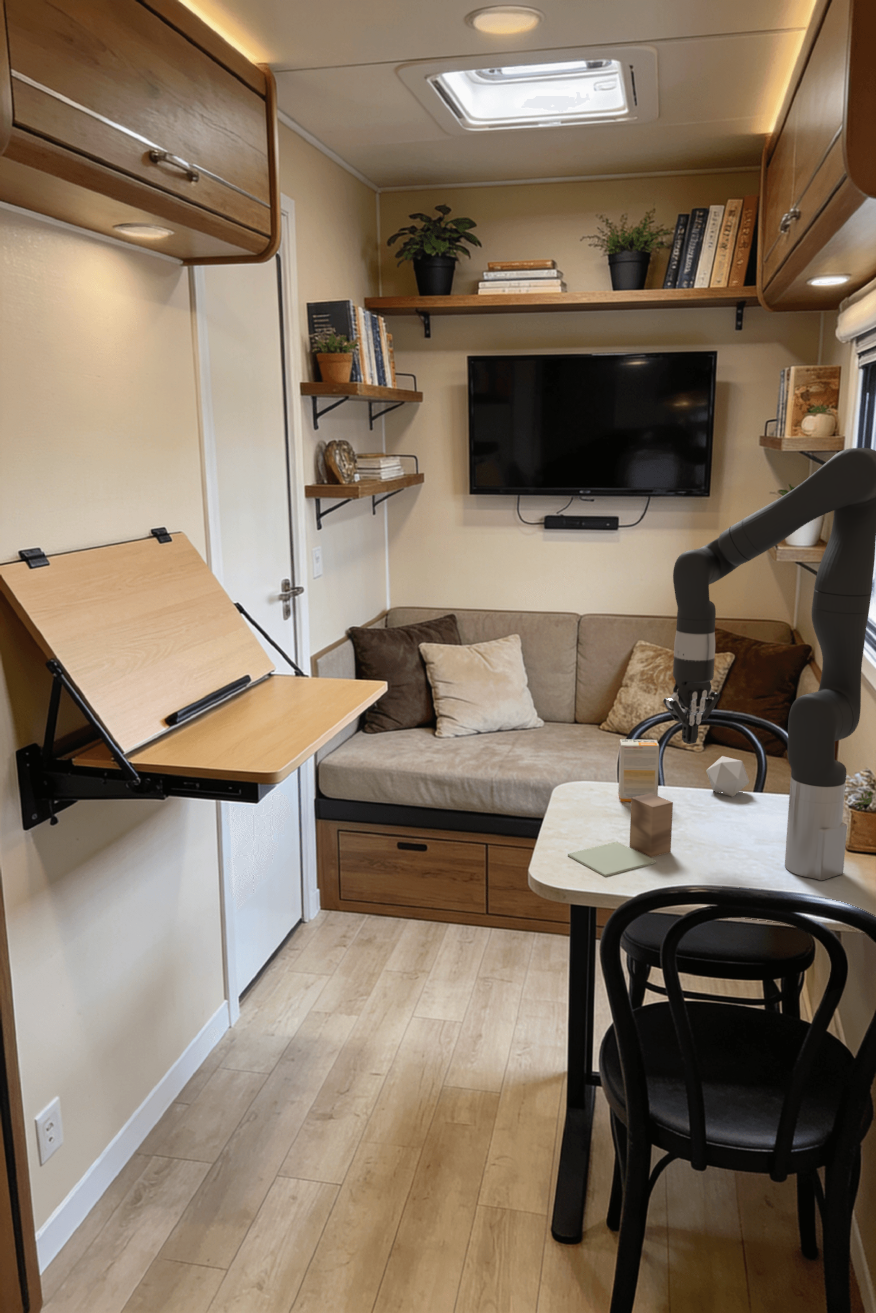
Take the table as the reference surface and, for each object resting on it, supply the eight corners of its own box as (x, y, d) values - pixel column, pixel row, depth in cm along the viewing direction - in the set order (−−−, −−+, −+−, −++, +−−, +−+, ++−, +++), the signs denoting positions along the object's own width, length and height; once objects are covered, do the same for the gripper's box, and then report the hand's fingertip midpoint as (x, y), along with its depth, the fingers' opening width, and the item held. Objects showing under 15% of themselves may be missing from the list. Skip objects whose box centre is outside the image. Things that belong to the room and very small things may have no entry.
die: (755, 796, 222) (743, 755, 226) (747, 788, 215) (736, 746, 219) (718, 805, 225) (708, 765, 229) (710, 797, 218) (700, 755, 222)
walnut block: (670, 852, 190) (672, 802, 188) (650, 857, 187) (652, 807, 185) (649, 841, 195) (651, 793, 193) (629, 846, 192) (631, 797, 190)
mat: (655, 862, 185) (655, 860, 185) (605, 876, 179) (605, 874, 179) (617, 843, 194) (617, 841, 194) (567, 855, 188) (567, 853, 188)
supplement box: (655, 795, 221) (657, 739, 218) (657, 803, 216) (660, 745, 214) (617, 794, 222) (619, 738, 219) (619, 802, 217) (621, 744, 214)
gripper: (682, 661, 182) (677, 753, 185) (734, 654, 188) (729, 742, 192) (654, 654, 188) (650, 742, 192) (705, 647, 195) (700, 733, 198)
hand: (689, 742), depth 192 cm, fingers closed
